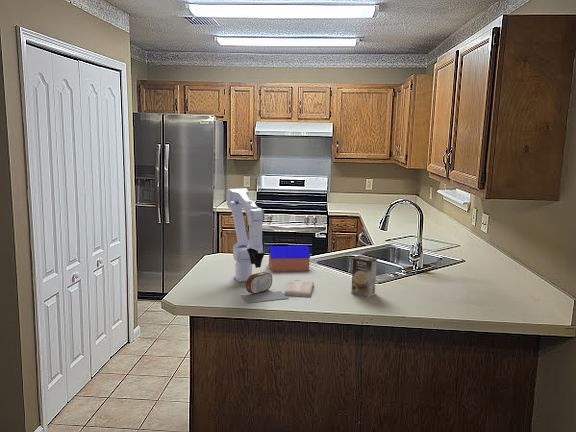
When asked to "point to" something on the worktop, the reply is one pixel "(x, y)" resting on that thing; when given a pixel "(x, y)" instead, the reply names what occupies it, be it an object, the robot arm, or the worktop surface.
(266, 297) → the mat
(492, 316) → the worktop surface
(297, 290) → the washcloth
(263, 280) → the tin
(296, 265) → the two-tone brick
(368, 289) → the coffee box
